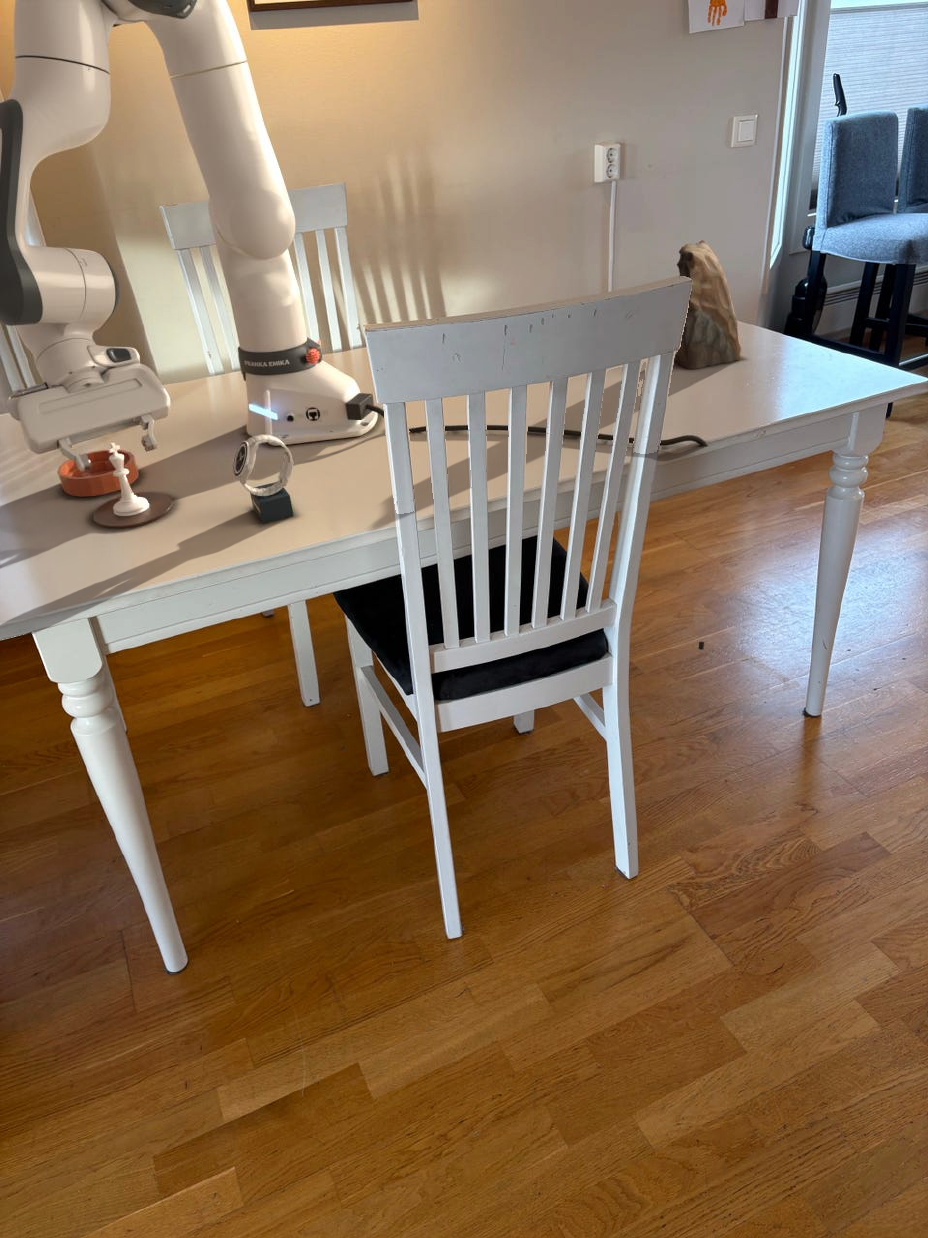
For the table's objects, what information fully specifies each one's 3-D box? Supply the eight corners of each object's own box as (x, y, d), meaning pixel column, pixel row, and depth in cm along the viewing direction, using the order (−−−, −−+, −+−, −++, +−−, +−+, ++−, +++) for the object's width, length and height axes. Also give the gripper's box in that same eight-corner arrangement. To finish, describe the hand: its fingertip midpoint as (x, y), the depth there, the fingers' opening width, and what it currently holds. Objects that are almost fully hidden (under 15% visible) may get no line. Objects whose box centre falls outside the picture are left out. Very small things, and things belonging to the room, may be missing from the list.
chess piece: (156, 504, 130) (138, 439, 125) (129, 518, 127) (109, 452, 121) (133, 498, 132) (114, 434, 127) (106, 512, 129) (86, 446, 124)
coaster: (182, 493, 134) (181, 490, 134) (158, 527, 125) (157, 524, 124) (111, 496, 135) (110, 493, 134) (81, 530, 126) (80, 527, 125)
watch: (239, 512, 127) (223, 438, 121) (294, 498, 130) (281, 425, 124) (249, 527, 123) (232, 451, 117) (306, 512, 125) (292, 438, 119)
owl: (686, 371, 165) (693, 256, 154) (649, 354, 175) (654, 245, 164) (743, 359, 168) (755, 246, 157) (704, 343, 178) (712, 235, 167)
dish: (149, 466, 144) (144, 447, 142) (123, 496, 134) (117, 476, 132) (81, 469, 144) (75, 450, 143) (51, 499, 135) (44, 480, 133)
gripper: (-2, 381, 119) (43, 470, 118) (146, 345, 129) (189, 426, 128) (2, 406, 125) (45, 491, 124) (143, 369, 135) (185, 447, 133)
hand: (119, 458), depth 126 cm, fingers open, 8 cm apart
